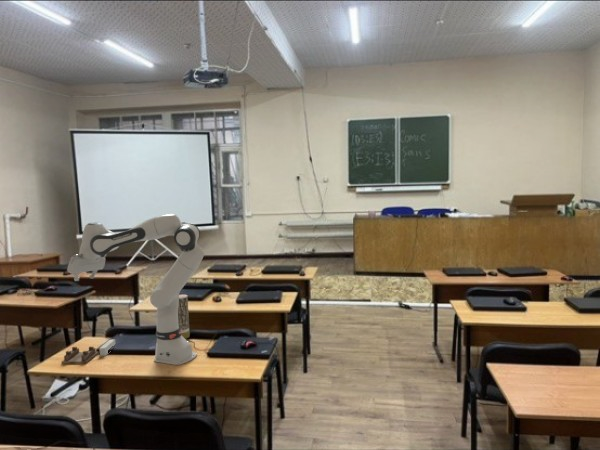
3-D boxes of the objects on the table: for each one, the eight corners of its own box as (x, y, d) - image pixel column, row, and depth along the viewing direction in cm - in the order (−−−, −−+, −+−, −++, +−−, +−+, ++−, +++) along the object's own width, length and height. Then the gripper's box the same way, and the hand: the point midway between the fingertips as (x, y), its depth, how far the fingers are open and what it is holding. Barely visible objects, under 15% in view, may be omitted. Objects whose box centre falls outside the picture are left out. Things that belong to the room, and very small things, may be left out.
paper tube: (187, 339, 236) (185, 297, 234) (176, 339, 236) (173, 297, 234) (191, 335, 243) (188, 294, 240) (179, 335, 243) (177, 294, 241)
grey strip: (110, 347, 229) (109, 339, 228) (115, 347, 229) (115, 339, 228) (100, 356, 217) (99, 348, 216) (105, 356, 217) (105, 348, 216)
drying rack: (98, 353, 219) (98, 344, 219) (86, 363, 207) (85, 353, 207) (75, 354, 220) (74, 344, 219) (61, 363, 208) (60, 354, 207)
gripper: (76, 256, 196) (71, 284, 198) (109, 253, 216) (104, 278, 217) (66, 253, 198) (61, 280, 200) (99, 250, 218) (95, 275, 219)
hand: (84, 279), depth 208 cm, fingers open, 8 cm apart
